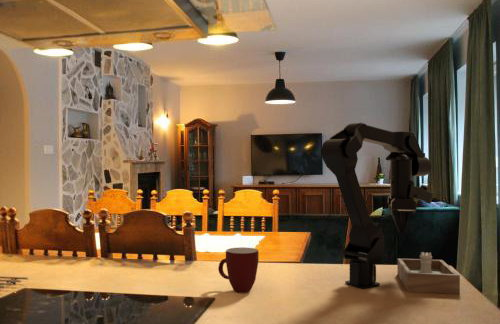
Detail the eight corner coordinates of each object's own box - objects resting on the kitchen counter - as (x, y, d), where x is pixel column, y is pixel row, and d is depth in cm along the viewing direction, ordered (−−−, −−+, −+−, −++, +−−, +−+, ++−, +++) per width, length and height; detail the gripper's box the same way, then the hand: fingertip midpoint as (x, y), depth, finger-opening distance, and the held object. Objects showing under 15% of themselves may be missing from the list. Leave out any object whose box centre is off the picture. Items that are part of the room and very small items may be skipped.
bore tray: (459, 294, 113) (459, 275, 113) (407, 291, 115) (407, 273, 115) (442, 276, 130) (442, 259, 130) (397, 274, 132) (397, 258, 132)
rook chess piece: (420, 285, 120) (420, 254, 120) (414, 281, 125) (414, 251, 125) (438, 285, 120) (438, 254, 120) (430, 281, 125) (430, 251, 125)
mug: (211, 292, 114) (211, 251, 114) (223, 284, 121) (223, 246, 121) (252, 296, 110) (252, 254, 110) (262, 288, 118) (262, 248, 118)
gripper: (437, 178, 120) (437, 239, 120) (427, 176, 138) (427, 229, 138) (391, 177, 122) (391, 237, 122) (387, 175, 141) (387, 227, 140)
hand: (401, 232), depth 131 cm, fingers open, 9 cm apart
